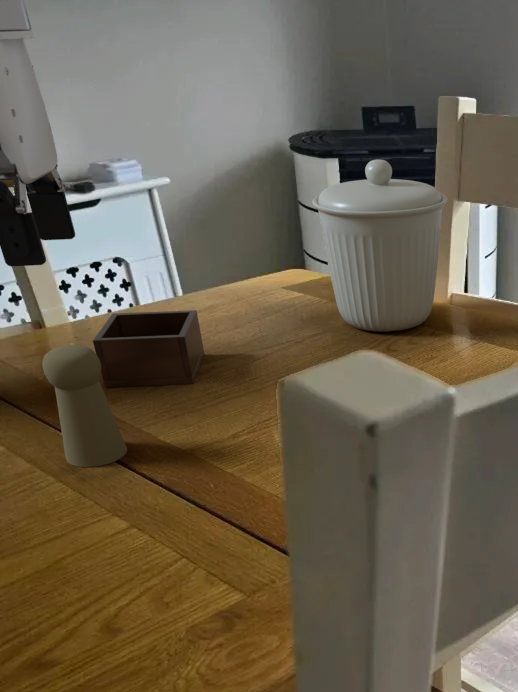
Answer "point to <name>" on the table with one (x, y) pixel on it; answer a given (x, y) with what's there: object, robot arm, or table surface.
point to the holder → (150, 348)
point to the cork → (83, 407)
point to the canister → (382, 248)
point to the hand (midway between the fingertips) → (43, 251)
